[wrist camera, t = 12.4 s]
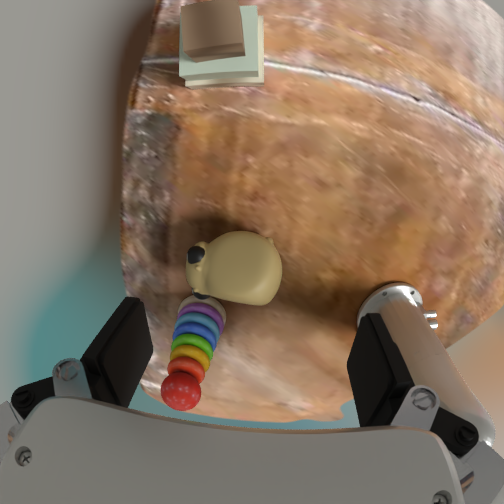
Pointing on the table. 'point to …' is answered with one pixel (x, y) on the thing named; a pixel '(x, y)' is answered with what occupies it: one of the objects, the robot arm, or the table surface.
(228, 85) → the base block
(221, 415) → the table surface
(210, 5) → the walnut cube
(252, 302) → the toy frog
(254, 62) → the top block
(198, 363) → the stacking toy
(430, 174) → the table surface
